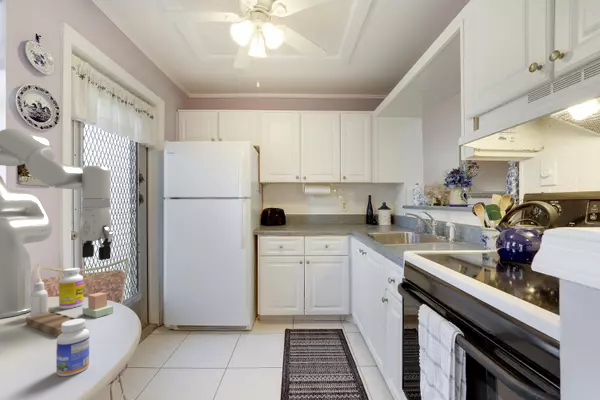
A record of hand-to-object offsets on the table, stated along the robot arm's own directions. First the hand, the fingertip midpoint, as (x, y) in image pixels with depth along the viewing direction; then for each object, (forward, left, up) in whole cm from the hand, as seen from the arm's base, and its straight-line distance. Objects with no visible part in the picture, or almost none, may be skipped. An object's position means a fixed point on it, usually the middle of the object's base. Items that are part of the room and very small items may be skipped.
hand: (96, 258), depth 95 cm
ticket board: (0, -11, -18) cm, 21 cm away
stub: (0, 0, -17) cm, 17 cm away
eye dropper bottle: (-14, -10, -18) cm, 24 cm away
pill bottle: (+32, -21, -18) cm, 42 cm away
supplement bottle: (-17, 0, -18) cm, 24 cm away
